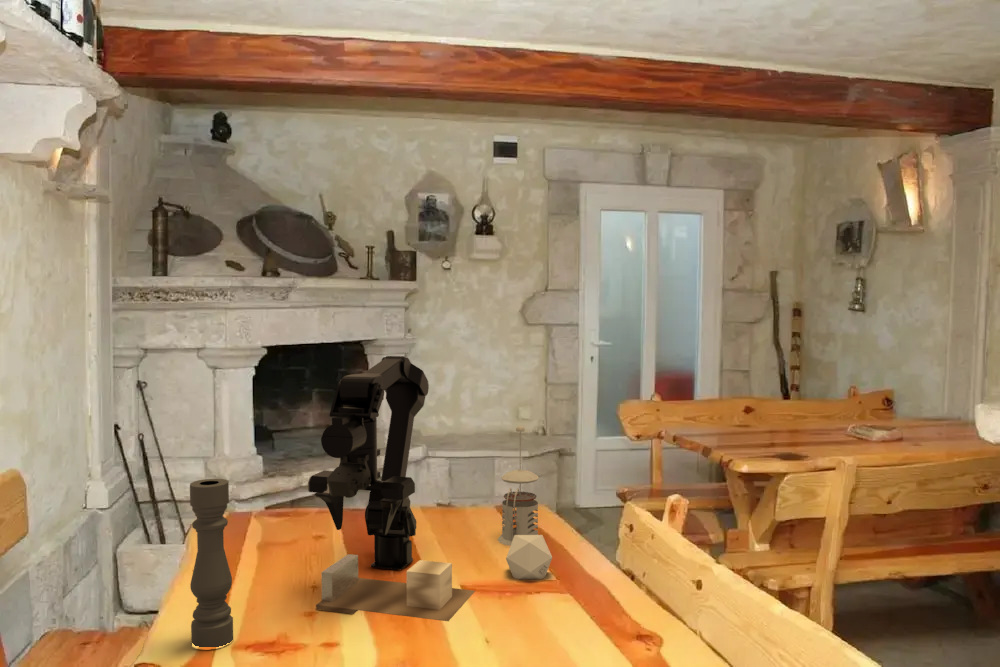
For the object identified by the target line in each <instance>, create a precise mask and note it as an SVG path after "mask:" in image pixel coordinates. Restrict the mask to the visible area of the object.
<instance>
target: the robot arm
mask: <svg viewBox="0 0 1000 667" xmlns="http://www.w3.org/2000/svg"><path fill="white" fill-rule="evenodd" d="M429 386H430V384H429V380H428V378H427V376H426V374H425V373H424V370H423V369H421V368H419V367H418V366H416V365H415V364H413V363H412V362H411V361H410V359H409V357H406V356H405V355H386V356H383V357H382V358H381V360H380V361H379V362H377V363H376V364H375V365H374V366H372V367H371V368H369V369H367V370H366V371H365V372H363V373H353V374H348V375H343V377H342V378H341V379H340V380H339V382H338V383H337V386H336V389H335V393H334V395H333V400H332V404H331V407H330V411H329V417H330V418H331V424H330V425H328V426H327V427H326V428H325V429H324V430H323V432H322V435H321V436H320V437H321V438H320V441H321V442H320V443H321V444H320V445H321V446H322V449H323V451H324V452H325V453H326V454H327V456H330V457H331V458H335V459H339V464H338V465H339V466H336V467H335V469H333V470H322V471H320V472H318V473H314V474H313V475H311V476H310V477H309V479H308V481H307V492H309V493H314V497H316V498H320V499H321V501H323V502H324V503H325V505H326V507H327V509H328V511H329V514H330V516H331V518H332V521H333V523H334V527H335V529H336V530H337V531H341V529H342V528H343V518H344V497H345V498H347V499H350V498H354V497H356V495H357V493H358V492H359V491H369V494H368V502H367V506H366V508H365V512H364V520H365V526H366V531H367V536H374V539H373V540H374V543H373V544H374V562H372V563H371V564H370V568H375V569H384V570H393V571H394V570H395V571H402V570H403V569H404V568H406V567H407V566H408V565H410V564H411V562H413V560H414V558H413V551H412V550H413V542H412V540H411V539H410V537H415V536H416V531H417V519H416V517H415V515H414V512H413V511H412V508H411V499H410V496H411V495H413V494H415V493H416V483H415V481H414V480H413V478H412V477H411V476H410V477H408V476H407V470H408V463H409V456H410V449H411V441H412V434H413V427H414V421H415V417H416V416H417V414H418V413H419V412H420V411H421V410H422V408H424V405H425V401H426V396H428V393H429V389H430V388H429ZM384 396H385V397H384ZM384 398H385V400H386V402H387V404H388V407H389V409H390V411H391V413H390V418H389V419H390V420H389V427H388V432H387V440H386V445H385V446H386V447H385V453H384V460H383V465H382V466H383V467H382V472H381V471H378V457H379V456H381V449H380V448H378V439H377V438H378V433H377V432H378V430H377V428H378V427H377V426H378V425H377V421H378V420H377V418H379V415H380V414H379V411H380V408H381V405H382V403H383V400H384ZM380 478H381V480H378V479H380Z"/></svg>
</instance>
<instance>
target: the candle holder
mask: <svg viewBox="0 0 1000 667" xmlns="http://www.w3.org/2000/svg"><path fill="white" fill-rule="evenodd" d="M229 488H230V484H229V480H227V479H223V478H206V479H204V478H203V479H198V480H196V481H192V482H190V483H189V506H191V507H192V510H191V511H192V512H193V513H194V516H195V517H196V519H194V521H192V524H191V526H192V529H193V530H195V532H196V538H197V539H196V541H197V543H196V544H197V545H196V546H197V547H196V548H197V552H196V556H195V560H194V561H195V563H194V566H193V571H192V575H191V576H192V577H191V579H190V586H189V587H190V591H191V593H192V595H193V596H194V597H195V598H196V603H198V604H197V606H195V609H194V610H193V612H192V619H193V620H192V621H191V624H190V628H191V629H190V632H191V633H190V635H191V636H190V637H191V642H192V643H193V644H194V645H195V646H199V647H219V646H223V645H226V644H227V643H230V642H231V641H232V640H233V641H234V617H233V616H232V615H231V614H232V607H231V606H230V605H229V603H227V601H226V600H227V598H228V596H227V595H228V593H229V592H230V590H231V589H232V583H233V576H232V573H231V569H230V566H229V562H228V558H227V555H226V550H225V547H224V546H225V545H224V543H225V541H224V530H225V528H226V527H227V526H228V523H229V520H228V519H227V518H226V517H224V515H225V512H226V510H227V508H228V504H229V502H230V492H229V490H230V489H229ZM192 643H191V644H192Z"/></svg>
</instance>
